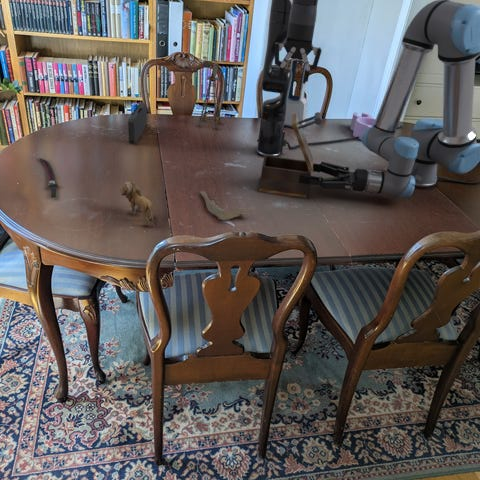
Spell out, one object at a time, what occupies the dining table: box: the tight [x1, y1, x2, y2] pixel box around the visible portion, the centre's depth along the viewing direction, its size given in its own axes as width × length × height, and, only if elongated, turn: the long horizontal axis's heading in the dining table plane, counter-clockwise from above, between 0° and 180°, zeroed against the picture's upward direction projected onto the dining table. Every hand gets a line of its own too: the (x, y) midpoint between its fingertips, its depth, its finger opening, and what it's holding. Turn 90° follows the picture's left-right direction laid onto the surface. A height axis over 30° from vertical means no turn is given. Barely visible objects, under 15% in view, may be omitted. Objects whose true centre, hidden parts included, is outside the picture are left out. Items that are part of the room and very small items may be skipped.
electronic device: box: [284, 57, 311, 128], centre depth 209 cm, size 12×8×30 cm, turn 71°
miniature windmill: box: [198, 54, 222, 130], centre depth 199 cm, size 9×8×30 cm
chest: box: [258, 155, 312, 199], centre depth 158 cm, size 16×10×9 cm, turn 83°
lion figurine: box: [119, 181, 159, 227], centre depth 134 cm, size 15×5×9 cm, turn 50°
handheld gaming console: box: [127, 102, 148, 144], centre depth 187 cm, size 23×3×10 cm, turn 178°
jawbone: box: [199, 190, 251, 222], centre depth 143 cm, size 9×20×2 cm, turn 50°
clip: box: [349, 112, 376, 141], centre depth 214 cm, size 20×12×7 cm, turn 11°
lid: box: [292, 111, 323, 173], centre depth 150 cm, size 17×10×9 cm
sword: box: [40, 158, 59, 198], centre depth 151 cm, size 31×3×1 cm, turn 26°
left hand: (293, 81), depth 142 cm, fingers open, 6 cm apart
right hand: (299, 171), depth 157 cm, fingers closed on chest, 10 cm apart
